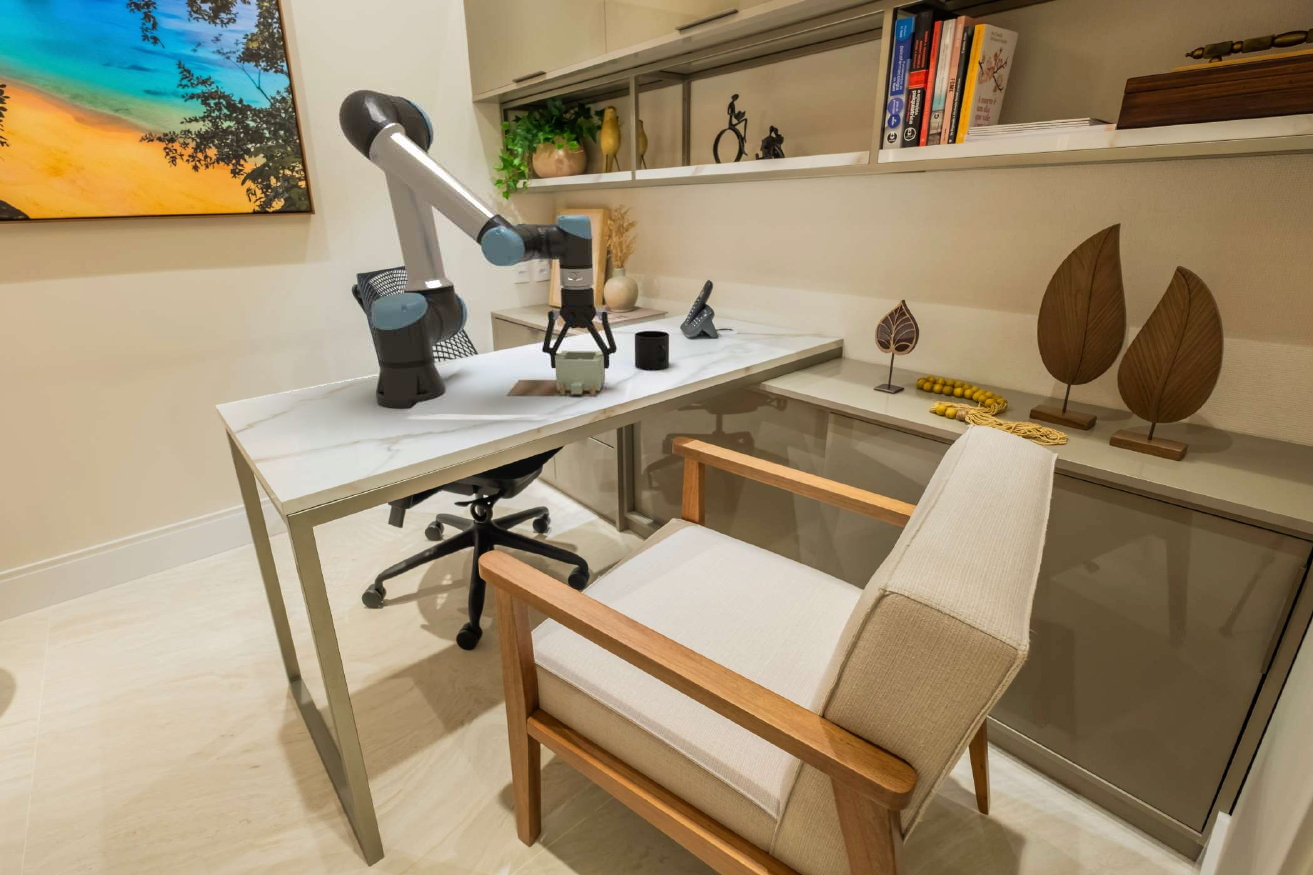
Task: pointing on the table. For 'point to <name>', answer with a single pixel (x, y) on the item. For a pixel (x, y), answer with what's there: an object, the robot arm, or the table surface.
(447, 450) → the table surface
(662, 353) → the mug
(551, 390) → the board
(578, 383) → the sage green storage bin
